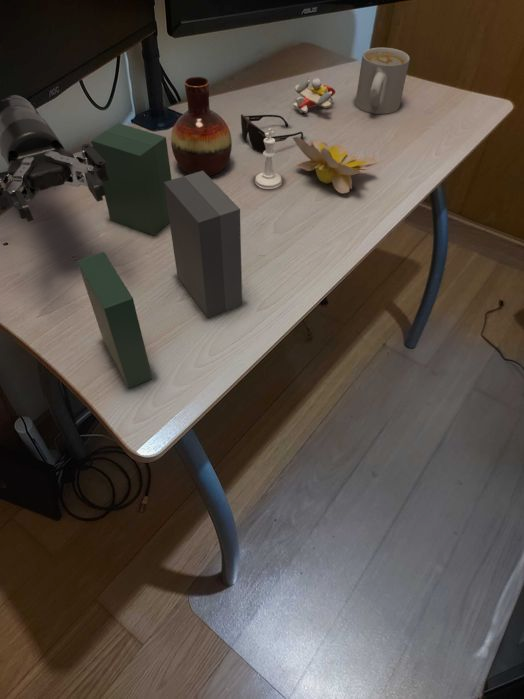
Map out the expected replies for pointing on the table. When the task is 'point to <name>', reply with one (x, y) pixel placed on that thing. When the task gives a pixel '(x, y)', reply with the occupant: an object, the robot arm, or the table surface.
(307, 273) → the table surface
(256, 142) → the sunglasses
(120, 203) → the green rectangular block
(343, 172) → the decorative flower
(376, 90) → the coffee mug
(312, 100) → the toy airplane
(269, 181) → the chess piece
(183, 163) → the vase
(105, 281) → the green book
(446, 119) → the table surface
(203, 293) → the grey faceted block
